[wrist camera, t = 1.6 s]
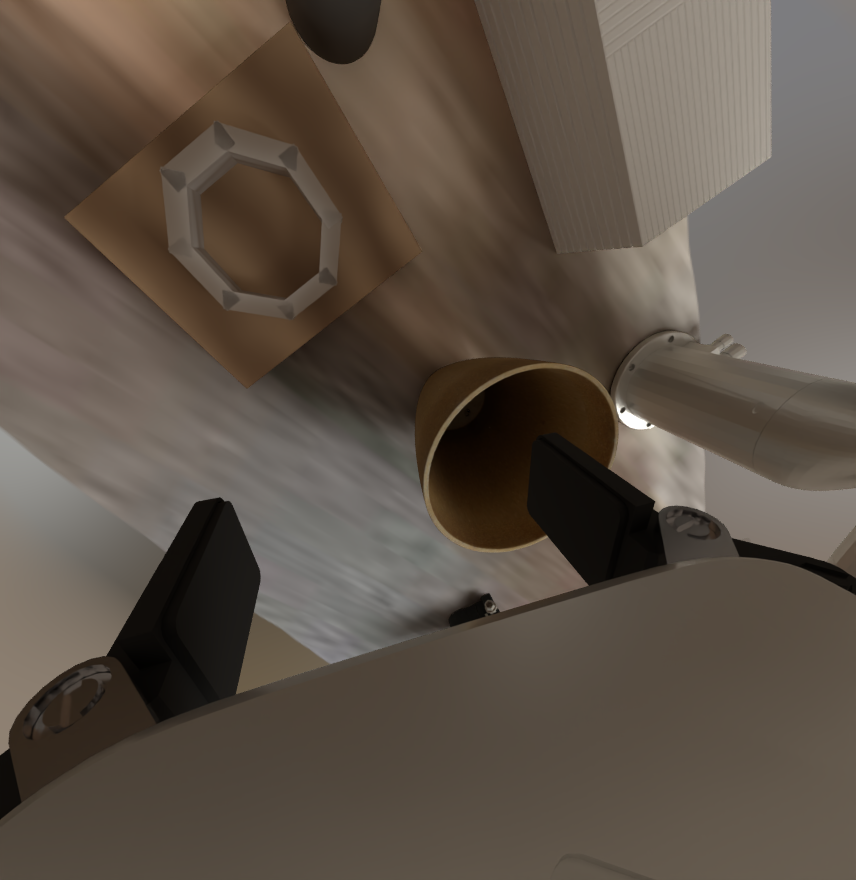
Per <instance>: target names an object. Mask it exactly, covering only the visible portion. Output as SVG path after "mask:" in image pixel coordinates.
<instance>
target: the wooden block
mask: <svg viewBox="0 0 856 880" xmlns="http://www.w3.org/2000/svg"><path fill="white" fill-rule="evenodd" d="M64 218H65V219H66V220H67V221H68V222H69V223H70V224H72V225H73V226H74V227H75V228H76V229H77V230H78V231H79V232H80V233H81V234H82V235H83V236H84V237H85V238H86V239H88V240H89V241H90V242H91V243H92V244H93V245H94V246H95V247H96V248H97V249H98V250H99V251H100V252H101V253H103V254H104V255H105V256H106V257H107V258H108V259H109V260H110V261H111V262H112V263H113V264H114V265H115V266H116V267H117V268H119V269H120V270H121V271H122V272H123V273H124V274H125V275H126V276H127V277H128V278H129V279H130V280H131V281H132V282H133V283H135V284H136V285H137V286H138V287H139V288H140V289H141V290H142V291H143V292H144V293H145V294H146V295H147V296H148V297H150V298H151V299H152V300H153V301H154V302H155V303H156V304H157V305H158V306H159V307H160V308H161V309H162V310H163V311H164V312H166V313H167V314H168V315H169V316H170V317H171V318H172V319H173V320H174V321H175V322H176V323H177V324H178V325H179V326H180V327H182V328H183V329H184V330H185V331H186V332H187V333H188V334H189V335H190V336H191V337H192V338H193V339H194V340H195V341H196V342H198V343H199V344H200V345H201V346H202V347H203V348H204V349H205V350H206V351H207V352H208V353H209V354H210V355H211V356H213V357H214V358H215V359H216V360H217V361H218V362H219V363H220V364H221V365H222V366H223V367H224V368H225V369H226V370H227V371H229V372H230V373H231V374H232V375H233V376H234V377H235V378H236V379H237V380H238V381H239V382H240V383H241V384H242V385H243V386H245V387H246V388H249V387H250V386H251V385H252V384H254V383H255V382H256V381H258V380H259V379H260V378H261V377H263V376H264V375H265V374H266V373H268V372H269V371H270V370H272V369H273V368H274V367H275V366H277V365H278V364H279V363H281V362H282V361H283V360H284V359H286V358H287V357H288V356H289V355H291V354H292V353H293V352H295V351H296V350H297V349H298V348H300V347H301V346H302V345H303V344H305V343H306V342H307V341H309V340H310V339H311V338H312V337H314V336H315V335H316V334H318V333H319V332H320V331H321V330H323V329H324V328H325V327H326V326H328V325H329V324H330V323H332V322H333V321H334V320H335V319H337V318H338V317H339V316H340V315H342V314H343V313H344V312H346V311H347V310H348V309H349V308H351V307H352V306H353V305H355V304H356V303H357V302H358V301H360V300H361V299H362V298H363V297H365V296H366V295H367V294H369V293H370V292H371V291H372V290H374V289H375V288H376V287H378V286H379V285H380V284H381V283H383V282H384V281H385V280H386V279H388V278H389V277H390V276H392V275H393V274H394V273H395V272H397V271H398V270H399V269H400V268H402V267H403V266H404V265H406V264H407V263H408V262H409V261H411V260H412V259H413V258H415V257H416V256H417V255H418V254H420V253H421V252H422V250H421V248H420V246H419V245H418V243H417V241H416V239H415V238H414V236H413V234H412V232H411V231H410V229H409V227H408V225H407V224H406V222H405V220H404V218H403V217H402V215H401V213H400V211H399V210H398V208H397V206H396V204H395V203H394V201H393V199H392V198H391V196H390V194H389V192H388V191H387V189H386V187H385V185H384V184H383V182H382V180H381V178H380V177H379V175H378V173H377V171H376V170H375V168H374V166H373V164H372V163H371V161H370V159H369V157H368V156H367V154H366V152H365V150H364V149H363V147H362V145H361V143H360V142H359V140H358V138H357V137H356V135H355V133H354V131H353V130H352V128H351V126H350V124H349V123H348V121H347V119H346V117H345V116H344V114H343V112H342V110H341V109H340V107H339V105H338V103H337V102H336V100H335V98H334V96H333V95H332V93H331V91H330V89H329V88H328V86H327V84H326V82H325V81H324V79H323V77H322V76H321V74H320V72H319V70H318V69H317V67H316V65H315V63H314V62H313V60H312V58H311V56H310V55H309V53H308V51H307V49H306V48H305V46H304V44H303V42H302V41H301V39H300V37H299V35H298V34H297V32H296V30H295V28H294V27H293V25H292V23H291V22H289V23H288V24H287V25H286V26H284V27H283V28H282V29H281V30H280V31H279V32H277V33H276V34H275V35H274V36H273V37H272V38H270V39H269V40H268V41H267V42H266V43H265V44H264V45H262V46H261V47H260V48H259V49H258V50H257V51H255V52H254V53H253V54H252V55H251V56H250V57H249V58H247V59H246V60H245V61H244V62H243V63H242V64H240V65H239V66H238V67H237V68H236V69H235V70H233V71H232V72H231V73H230V74H229V75H228V76H227V77H225V78H224V79H223V80H222V81H221V82H220V83H218V84H217V85H216V86H215V87H214V88H213V89H212V90H210V91H209V92H208V93H207V94H206V95H205V96H203V97H202V98H201V99H200V100H199V101H198V102H197V103H195V104H194V105H193V106H192V107H191V108H190V109H188V110H187V111H186V112H185V113H184V114H183V115H181V116H180V117H179V118H178V119H177V120H176V121H175V122H173V123H172V124H171V125H170V126H169V127H168V128H166V129H165V130H164V131H163V132H162V133H161V134H160V135H158V136H157V137H156V138H155V139H154V140H153V141H151V142H150V143H149V144H148V145H147V146H146V147H144V148H143V149H142V150H141V151H140V152H139V153H138V154H136V155H135V156H134V157H133V158H132V159H131V160H129V161H128V162H127V163H126V164H125V165H124V166H123V167H121V168H120V169H119V170H118V171H117V172H116V173H114V174H113V175H112V176H111V177H110V178H109V179H107V180H106V181H105V182H104V183H103V184H102V185H101V186H99V187H98V188H97V189H96V190H95V191H94V192H92V193H91V194H90V195H89V196H88V197H87V198H86V199H84V200H83V201H82V202H81V203H80V204H79V205H77V206H76V207H75V208H74V209H73V210H72V211H70V212H69V213H68V214H67V215H66V216H65V217H64Z"/></svg>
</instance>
